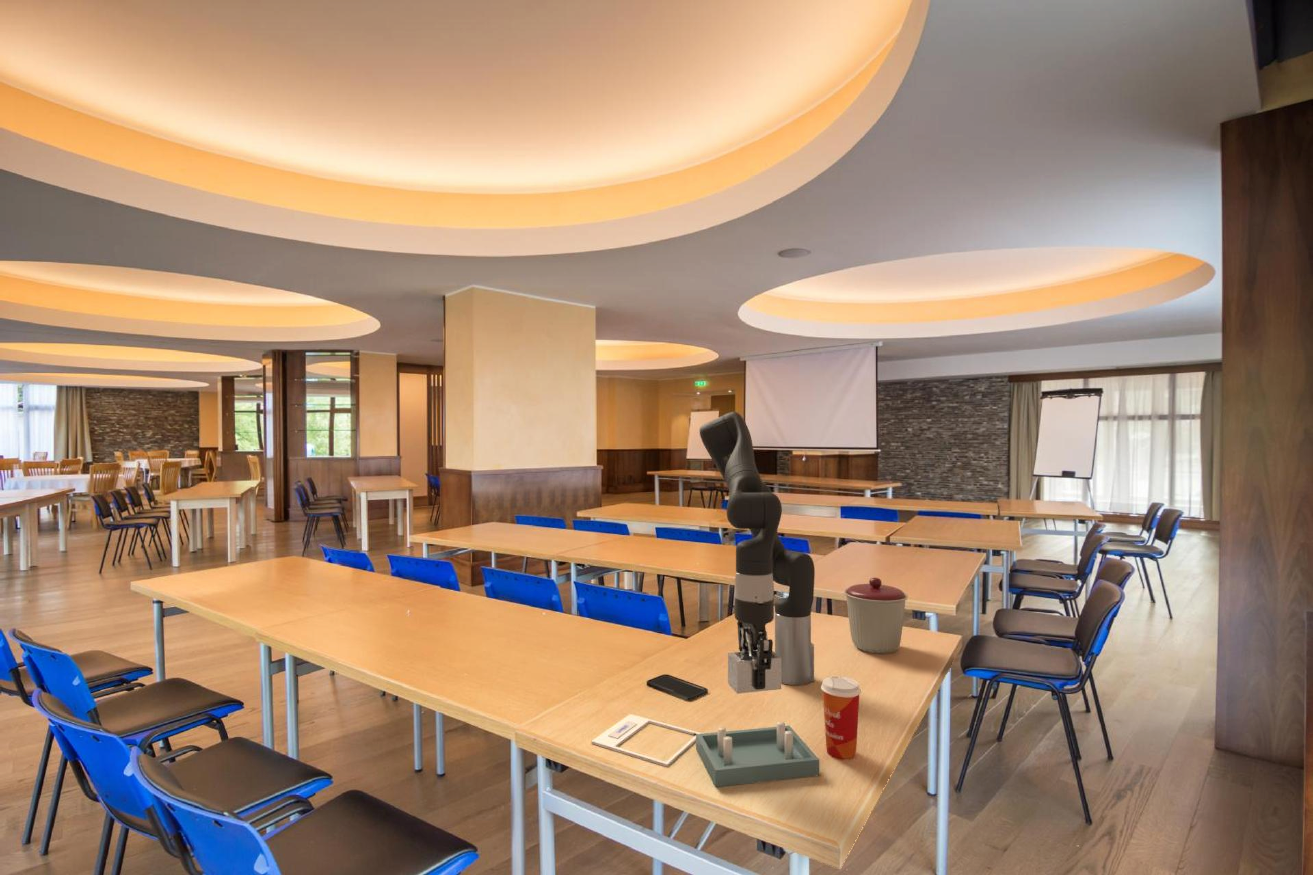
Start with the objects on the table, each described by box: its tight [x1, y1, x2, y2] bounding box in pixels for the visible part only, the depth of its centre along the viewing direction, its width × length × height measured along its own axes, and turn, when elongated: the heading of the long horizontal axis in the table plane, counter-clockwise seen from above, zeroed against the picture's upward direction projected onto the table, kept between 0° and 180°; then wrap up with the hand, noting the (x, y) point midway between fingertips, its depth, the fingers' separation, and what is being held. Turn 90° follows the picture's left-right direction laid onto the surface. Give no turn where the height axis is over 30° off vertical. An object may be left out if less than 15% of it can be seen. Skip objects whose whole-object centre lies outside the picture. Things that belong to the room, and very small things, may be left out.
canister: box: [843, 577, 909, 655], centre depth 186 cm, size 18×18×21 cm
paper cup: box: [820, 676, 862, 761], centre depth 124 cm, size 8×8×14 cm
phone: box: [646, 673, 709, 702], centre depth 156 cm, size 8×1×15 cm
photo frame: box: [591, 713, 703, 768], centre depth 130 cm, size 15×1×18 cm
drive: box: [727, 650, 782, 694], centre depth 121 cm, size 9×5×6 cm, turn 104°
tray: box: [695, 721, 820, 788], centre depth 121 cm, size 20×14×6 cm
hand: (754, 682), depth 121 cm, fingers closed on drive, 5 cm apart
